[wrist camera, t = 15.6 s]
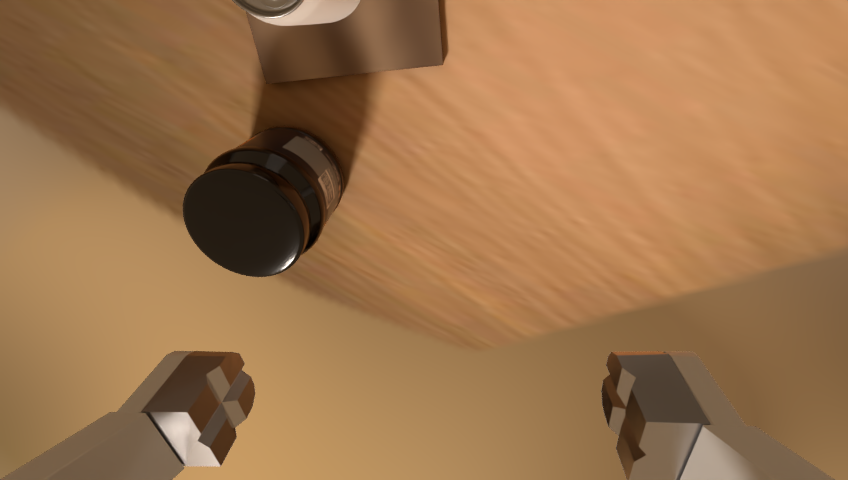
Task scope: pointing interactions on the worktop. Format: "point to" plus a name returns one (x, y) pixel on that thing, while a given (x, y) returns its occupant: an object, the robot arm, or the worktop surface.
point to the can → (298, 10)
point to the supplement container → (264, 201)
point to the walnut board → (352, 42)
